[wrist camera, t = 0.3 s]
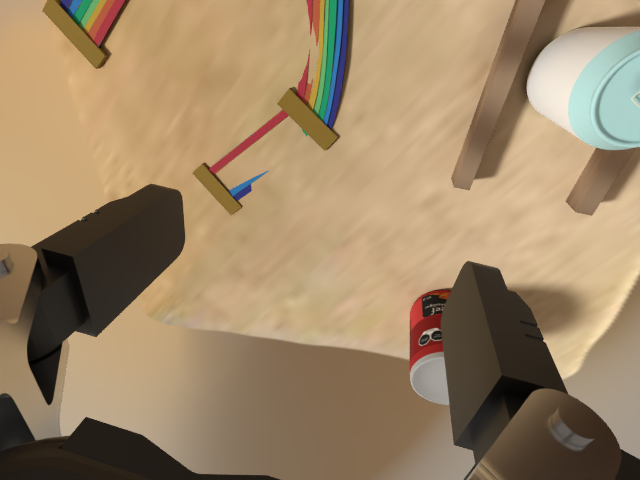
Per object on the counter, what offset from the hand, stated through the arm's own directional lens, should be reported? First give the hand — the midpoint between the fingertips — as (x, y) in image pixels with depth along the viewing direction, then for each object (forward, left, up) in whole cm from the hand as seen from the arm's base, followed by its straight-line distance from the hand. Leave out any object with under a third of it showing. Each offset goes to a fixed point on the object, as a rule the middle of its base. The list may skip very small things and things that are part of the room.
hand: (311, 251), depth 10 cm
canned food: (+25, +14, -29) cm, 41 cm away
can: (-4, +16, -29) cm, 33 cm away
